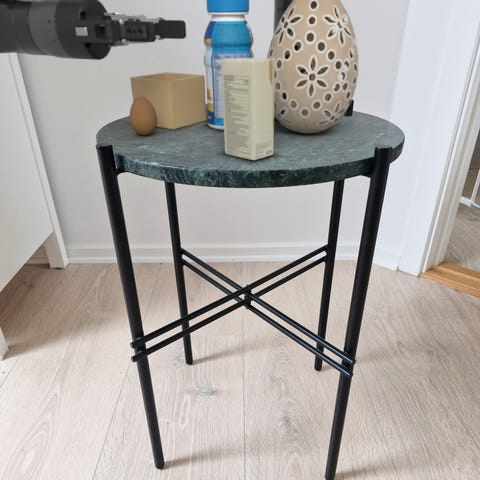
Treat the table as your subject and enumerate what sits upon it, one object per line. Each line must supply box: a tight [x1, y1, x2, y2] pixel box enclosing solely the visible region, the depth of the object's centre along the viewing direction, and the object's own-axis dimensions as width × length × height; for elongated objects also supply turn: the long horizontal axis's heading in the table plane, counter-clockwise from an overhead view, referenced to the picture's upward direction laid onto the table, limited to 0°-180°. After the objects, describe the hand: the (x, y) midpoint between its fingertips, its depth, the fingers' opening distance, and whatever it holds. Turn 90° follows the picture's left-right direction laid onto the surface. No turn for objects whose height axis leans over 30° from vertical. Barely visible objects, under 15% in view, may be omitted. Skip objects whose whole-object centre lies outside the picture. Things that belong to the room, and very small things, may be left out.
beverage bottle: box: [203, 0, 255, 131], centre depth 76 cm, size 8×8×20 cm
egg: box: [129, 96, 157, 137], centre depth 74 cm, size 4×4×6 cm
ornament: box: [266, 0, 359, 135], centre depth 71 cm, size 15×15×20 cm
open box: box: [129, 71, 207, 130], centre depth 83 cm, size 9×9×8 cm
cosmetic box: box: [221, 57, 275, 161], centre depth 62 cm, size 6×4×12 cm
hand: (170, 30), depth 60 cm, fingers open, 8 cm apart
